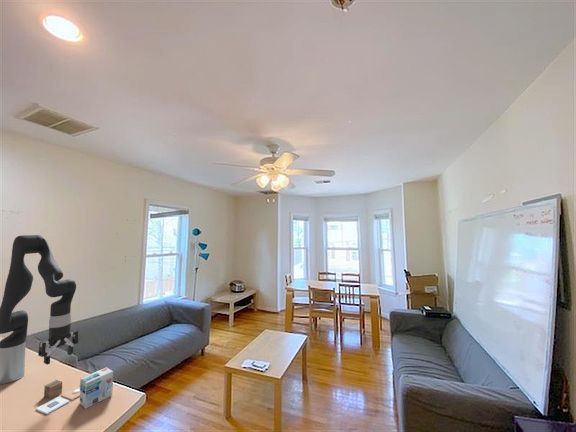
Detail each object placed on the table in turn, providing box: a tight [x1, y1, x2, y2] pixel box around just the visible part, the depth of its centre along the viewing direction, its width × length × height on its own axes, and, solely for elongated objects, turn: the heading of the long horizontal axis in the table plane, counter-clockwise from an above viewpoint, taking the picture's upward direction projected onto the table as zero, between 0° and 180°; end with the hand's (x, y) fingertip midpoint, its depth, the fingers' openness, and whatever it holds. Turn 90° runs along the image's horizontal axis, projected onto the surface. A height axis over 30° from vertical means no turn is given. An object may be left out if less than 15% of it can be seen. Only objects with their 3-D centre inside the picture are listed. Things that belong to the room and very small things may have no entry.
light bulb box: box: [79, 366, 114, 409], centre depth 113 cm, size 11×7×11 cm, turn 148°
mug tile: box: [60, 384, 80, 401], centre depth 117 cm, size 8×8×1 cm
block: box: [43, 379, 63, 400], centre depth 116 cm, size 4×4×5 cm
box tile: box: [35, 395, 71, 415], centre depth 109 cm, size 8×8×1 cm
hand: (58, 359), depth 117 cm, fingers open, 8 cm apart
